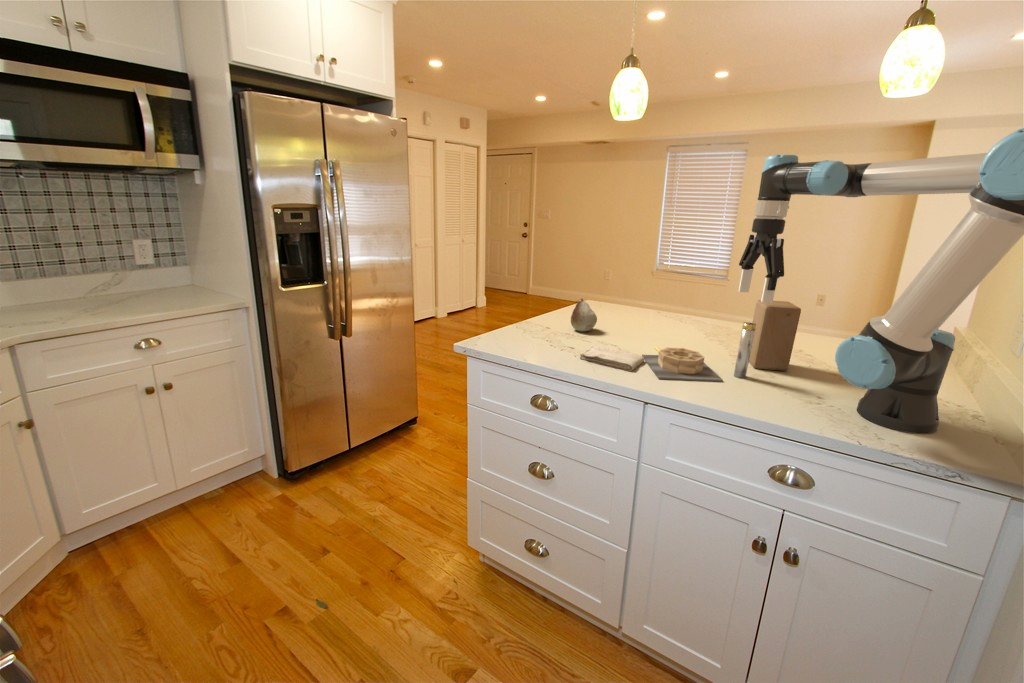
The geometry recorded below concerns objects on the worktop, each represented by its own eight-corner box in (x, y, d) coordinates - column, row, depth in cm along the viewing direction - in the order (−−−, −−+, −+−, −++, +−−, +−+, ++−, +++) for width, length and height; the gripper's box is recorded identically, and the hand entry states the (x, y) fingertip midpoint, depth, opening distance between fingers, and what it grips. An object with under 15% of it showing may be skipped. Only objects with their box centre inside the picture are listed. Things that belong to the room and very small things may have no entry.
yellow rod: (663, 356, 150) (664, 353, 150) (661, 356, 150) (661, 353, 150) (656, 348, 158) (657, 345, 158) (654, 348, 158) (654, 345, 158)
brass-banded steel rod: (747, 378, 133) (758, 325, 128) (736, 378, 133) (746, 325, 128) (742, 374, 136) (752, 322, 131) (731, 374, 136) (741, 322, 131)
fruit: (582, 325, 184) (585, 296, 180) (601, 331, 177) (604, 300, 173) (565, 329, 177) (567, 299, 174) (583, 335, 171) (586, 303, 167)
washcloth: (592, 351, 154) (593, 342, 153) (645, 362, 145) (646, 353, 144) (577, 360, 145) (577, 351, 144) (632, 373, 135) (633, 363, 134)
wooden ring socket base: (722, 381, 130) (725, 366, 128) (658, 379, 130) (660, 364, 129) (697, 358, 149) (699, 345, 148) (641, 356, 149) (643, 342, 148)
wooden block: (788, 372, 139) (803, 308, 133) (753, 369, 141) (766, 305, 135) (777, 361, 148) (790, 301, 143) (744, 358, 150) (755, 298, 144)
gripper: (812, 220, 109) (792, 307, 116) (761, 216, 133) (747, 288, 139) (780, 219, 109) (762, 306, 116) (735, 215, 133) (722, 287, 140)
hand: (754, 296), depth 128 cm, fingers open, 13 cm apart
